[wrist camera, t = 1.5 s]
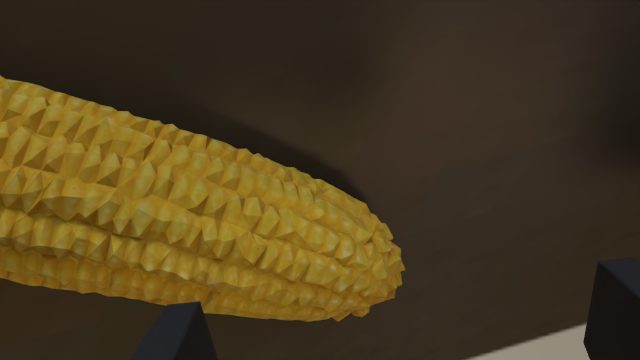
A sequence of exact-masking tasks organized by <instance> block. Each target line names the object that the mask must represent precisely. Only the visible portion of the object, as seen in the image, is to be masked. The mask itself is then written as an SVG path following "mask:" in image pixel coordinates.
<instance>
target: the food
mask: <svg viewBox="0 0 640 360" xmlns="http://www.w3.org/2000/svg"><path fill="white" fill-rule="evenodd" d="M392 240H393V236H392V234H391V232H390V231H389V229H388V227H387V225H386V224H384V223H381V222H380V221H379V219H378V218H377V216H376V215H374V214H372V213H371V212H370V211H369V209H368V207H367V205H366V204H365V203H363V202H361V201H359V200H357V199H355V198H353V197H351V196H350V195H348V194H346V193H345V192H343V191H341V190H339V189H338V188H336V187H334V186H332V185H330V184H328V183H326V182H324V181H323V180H321V179H313V178H312V177H311V176H310V175H309V174H306V173H303V172H300V171H299V170H297V169H296V168H294V167H285V166H283V165H280V164H278V163H276V162H274V161H272V160H270V159H268V158H264V157H263V156H261V155H260V154H259V153H257V154H254V155H253V154H252V153H251V152H249V151H248V150H247V149H246V148H245V149H236V148H234V147H233V146H231V145H229V144H227V143H225V142H222V141H218V140H215V139H212V138H210V137H208V136H205V135H201V134H194V133H191V132H189V131H185V130H181V129H178V128H177V127H176V126H174V125H173V124H166V125H164V124H162V123H161V121H153V120H150V119H145V118H141V117H136V116H133V115H131V114H130V113H129V112H128V111H117V110H115V109H114V108H112V107H109V106H103V105H99V104H97V103H95V102H90V101H86V100H83V99H79V98H76V97H73V96H70V95H67V94H65V93H60V92H55V91H52V90H49V89H47V88H44V87H42V86H39V85H35V84H31V83H27V82H22V81H16V80H9V79H4V78H3V77H2V76H0V278H4V279H8V280H11V281H14V282H18V283H21V284H25V285H30V286H44V287H48V288H52V289H65V290H74V291H77V292H80V293H82V294H83V293H91V292H97V293H100V294H102V295H105V296H122V297H125V298H129V299H139V300H143V301H146V302H150V303H156V304H161V305H166V306H167V305H169V304H179V303H189V302H199V301H200V302H201V306H202V309H203V312H204V313H213V314H227V315H235V316H242V317H251V318H261V319H269V318H273V319H280V320H302V321H305V322H309V321H315V320H323V319H329V318H330V317H332V318H333V319H335V320H336V321H337V322H339V321H340V320H341V319H343V318H344V317H346V316H347V315H349V314H350V313H352V314H353V315H354V316H358V317H363V316H364V315H365V314H367V313H368V312H369V309H370V306H371V305H374V304H376V303H379V302H382V301H385V300H388V299H391V298H395V289H396V287H397V286H400V285H402V280H401V273H400V271H403V270H405V268H404V266H403V263H402V261H401V249H400V248H399V247H397V246H396V245H394V244H393V243H392V242H391V241H392Z"/></svg>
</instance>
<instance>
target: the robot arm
mask: <svg viewBox="0 0 640 360" xmlns="http://www.w3.org/2000/svg"><path fill="white" fill-rule="evenodd" d="M584 345H585V348H586V350H587V353H588V355H589V358H590V360H640V262H639V261H637V260H635V259H634V258H628V259H618V260H608V261H598V265H597V271H596V276H595V282H594V287H593V293H592V298H591V304H590V309H589V315H588V320H587V326H586V331H585V337H584ZM128 360H218V359H217V355H216V352H215V349H214V345H213V342H212V339H211V335H210V332H209V329H208V326H207V322H206V319H205V316H204V312H203V309H202V306H201V302H200V301H199V302H189V303H179V304H169V305H167V306H166V307H165V308H164V310H163V311H162V312H161V314H160V315H159V317H158V318H157V319H156V321H155V322H154V324H153V325H152V327H151V328H150V329H149V331H148V332H147V334H146V335H145V337H144V338H143V340H142V341H141V342H140V344H139V345H138V347H137V348H136V350H135V351H134V352H133V354H132V355H131V357H130V358H129V359H128Z"/></svg>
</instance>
